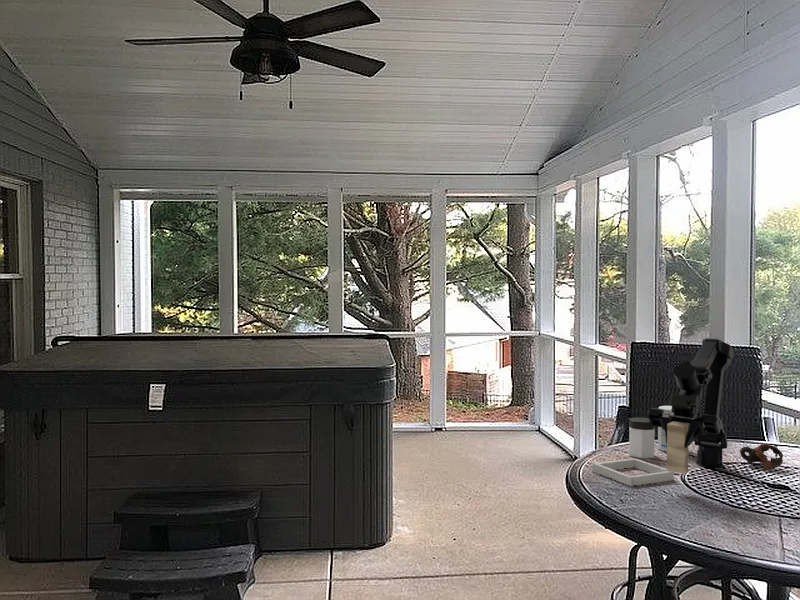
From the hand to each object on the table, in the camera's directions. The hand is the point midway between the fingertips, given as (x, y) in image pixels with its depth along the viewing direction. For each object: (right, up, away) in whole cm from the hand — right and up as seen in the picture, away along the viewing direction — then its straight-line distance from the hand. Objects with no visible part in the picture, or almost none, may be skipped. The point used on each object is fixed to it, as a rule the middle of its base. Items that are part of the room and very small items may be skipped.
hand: (676, 445), depth 191 cm
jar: (+4, -12, +40) cm, 42 cm away
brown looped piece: (+37, -13, +27) cm, 48 cm away
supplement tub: (+18, -12, +48) cm, 52 cm away
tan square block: (+1, -7, +1) cm, 7 cm away
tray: (-7, -12, +16) cm, 21 cm away
